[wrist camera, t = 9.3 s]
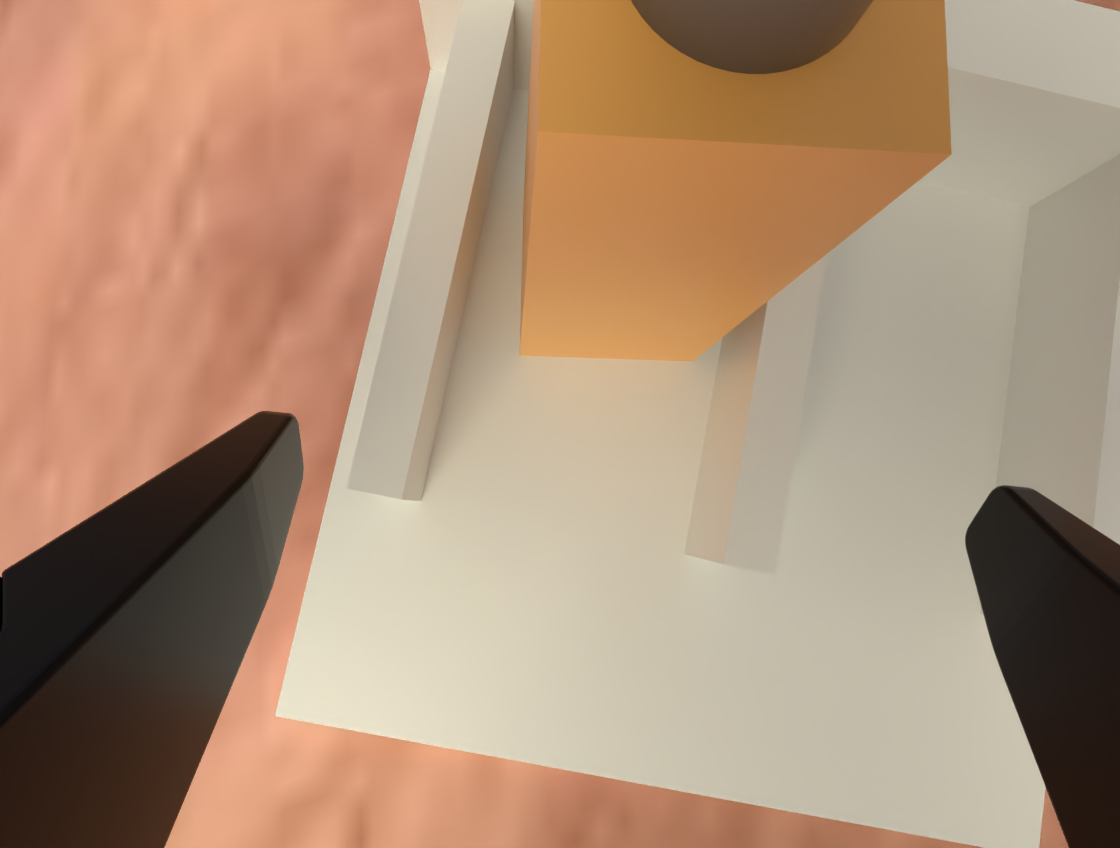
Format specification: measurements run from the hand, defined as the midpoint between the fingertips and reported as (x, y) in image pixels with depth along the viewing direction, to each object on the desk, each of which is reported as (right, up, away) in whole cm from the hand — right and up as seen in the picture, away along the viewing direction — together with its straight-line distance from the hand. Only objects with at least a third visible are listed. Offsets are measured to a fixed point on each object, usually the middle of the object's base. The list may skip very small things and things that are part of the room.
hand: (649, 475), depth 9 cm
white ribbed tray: (+3, +1, +8) cm, 9 cm away
